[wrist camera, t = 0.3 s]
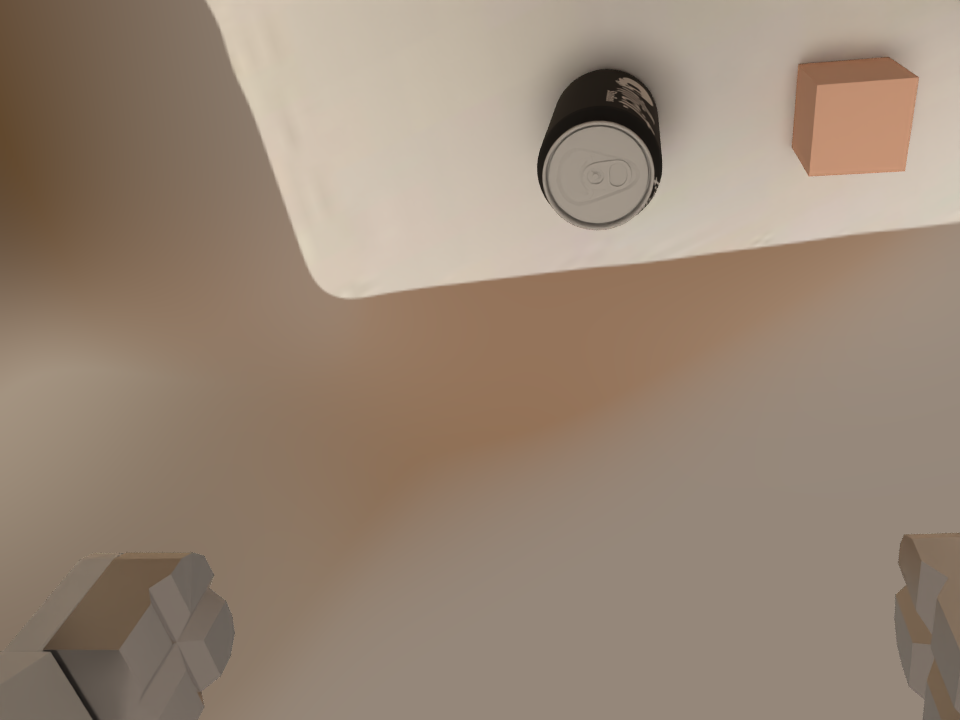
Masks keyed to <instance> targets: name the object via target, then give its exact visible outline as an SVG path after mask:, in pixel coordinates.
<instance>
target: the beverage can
mask: <svg viewBox="0 0 960 720" xmlns="http://www.w3.org/2000/svg"><path fill="white" fill-rule="evenodd" d="M537 174H538V180H539V184H540V187H541V190H542V192H543V194H544V196H545V198H546V200H547V201H548V202H549V204H550V205H551V206H552V208H553V209H554V210H555V211H556V213H557V214H558V215H559V216H561V217H562V218H563V219H564V220H566V221H567V222H569V223H571V224H573V225H575V226H577V227H580V228H584V229H589V230H606V229H610V228H614V227H617V226H620V225H622V224H624V223H626V222H628V221H629V220H630V219H632V218H633V217H634V216H636V215H637V214H639V213H640V212H641V211H642V210H643V209H644V208H645V207H646V206H647V205H648V203H649V202H650V201H651V199H652V198H653V196H654V195H655V193H656V191H657V188H658V186H659V183H660V179H661V175H662V154H661V143H660V132H659V121H658V112H657V107H656V104H655V101H654V99H653V97H652V95H651V93H650V92H649V90H648V89H647V88H646V86H645V85H644V84H643V83H642V82H641V81H639V80H638V79H637V78H635V77H634V76H632V75H630V74H628V73H625V72H622V71H618V70H610V69H605V70H597V71H593V72H590V73H587V74H585V75H583V76H581V77H579V78H578V79H576V80H575V81H574V82H572V83H571V84H570V85H569V86H568V87H567V88H566V89H565V91H564V92H563V93H562V95H561V97H560V98H559V100H558V102H557V105H556V108H555V110H554V113H553V116H552V119H551V121H550V124H549V127H548V129H547V132H546V135H545V138H544V140H543V143H542V146H541V149H540V152H539V156H538V163H537Z"/></svg>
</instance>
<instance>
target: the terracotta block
mask: <svg viewBox="0 0 960 720" xmlns="http://www.w3.org/2000/svg"><path fill="white" fill-rule="evenodd" d="M918 80H919V77H918V76H916V75H915V74H913V73H912V72H910V71H909V70H907V69H906V68H904V67H903V66H901V65H900V64H898V63H897V62H896V61H894V60H893V59H891V58H890V57H881V58H868V59H856V60H844V61H831V62H819V63H807V64H798V76H797V88H796V101H795V114H794V126H793V139H792V148H793V150H794V152H795V154H796V155H797V157H798V159H799V160H800V162H801V164H802V165H803V167H804V169H805V170H806V172H807V174H808V176H825V175H843V174H862V173H880V172H898V171H905V167H906V160H907V154H908V147H909V140H910V134H911V127H912V120H913V114H914V107H915V100H916V94H917V87H918Z"/></svg>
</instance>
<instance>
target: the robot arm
mask: <svg viewBox="0 0 960 720" xmlns="http://www.w3.org/2000/svg"><path fill="white" fill-rule="evenodd" d="M898 564H899V567H900V569H901V572H902V575H903V578H904V580H905V583H906V586H904V587H903V588H902V589H901V590H900V591H899V592H898V593H897V594H896V595H895V616H894V617H895V618H894V620H895V630H896V640H897V647H898V651H899V655H900V659H901V664H902V667H903V670H904V673H905V676H906V679H907V682H908V685H909V687H910V688H911V689H913V690H914V691H915V692H916V693H917V694H919V695H920V696H921V697H922V698H924V700H925V701H924V712H923V720H960V533H934V534H933V533H932V534H904V535H903V538H902V541H901V543H900V549H899V559H898ZM213 577H214V574H213V572H212V570H211V568H210V566H209V564H208V562H207V560H206V558H205V556H203V555H200V554H196V553H193V552H126V553H93V554H90V555H88V556H86V557H84V558H82V559H80V560H79V561H78V562H77V564H76V565H75V566H74V567H73V568H72V570H71V571H70V572H69V573H68V575H67V576H66V577H65V578H64V579H63V580H62V581H61V583H60V584H59V585H58V586H57V588H56V589H55V590H54V591H53V592H52V593H51V595H50V596H49V597H48V598H47V599H46V601H45V602H44V603H43V604H42V605H41V607H40V608H39V609H38V610H37V611H36V612H35V614H34V615H33V616H32V617H31V619H30V620H29V621H28V622H27V623H26V625H25V626H24V627H23V628H22V629H21V631H20V632H19V633H18V634H17V635H16V636H15V638H14V639H13V640H12V641H11V642H10V643H9V645H8V646H7V647H6V648H5V650H4V651H0V720H198V718H199V716H200V714H201V713H202V710H203V709H204V702H203V697H202V690H204V689H205V688H206V687H208V686H209V685H210V684H211V683H213V682H214V681H215V680H217V679H218V678H219V677H220V676H221V674H222V673H223V671H224V669H225V666H226V665H227V663H228V660H229V658H230V656H231V651H232V645H233V640H234V634H235V632H234V625H233V617H232V614H231V612H230V609H229V607H228V604H227V602H226V601H225V600H224V599H223V598H222V597H220V596H219V595H218V594H216V593H215V592H214V591H212V590H211V589H210V588H209V587H210V585H211V582H212V580H213Z"/></svg>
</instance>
